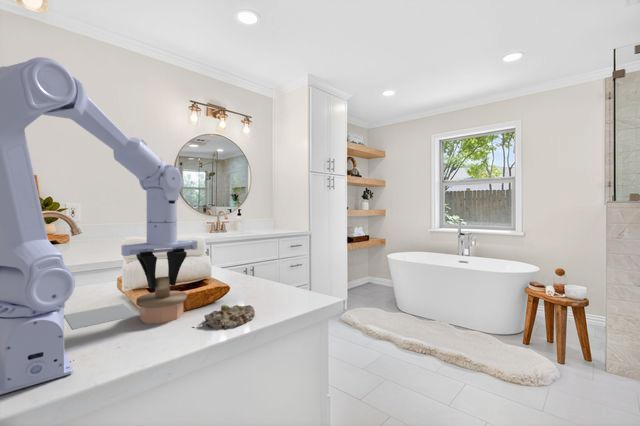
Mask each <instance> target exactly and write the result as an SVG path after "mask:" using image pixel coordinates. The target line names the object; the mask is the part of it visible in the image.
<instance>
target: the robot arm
mask: <svg viewBox="0 0 640 426" xmlns="http://www.w3.org/2000/svg"><path fill="white" fill-rule="evenodd" d="M42 115H43V116H48V117H55V118H63V119H68V120H69V119H70V120H72V121H73V122H75V123H76V124H77V125H78V126H80V127H82V128H83V130H85V131H86V132H88V133H89V134H91V135H92V136H94V137H95V138H96V139H98V140H99V141H100V142H101V143H103V144H104V145H106V146H107V147H109V148H110V149H111V150H112V152H113V158H114V160H115V161H116V162H117V163H119V164H120V165H121V166H122V167H124V168H125V169H126V170H128V172H130V173H131V174H133V175H134V176H135V177H136V179H137V180H138V182H139V185H140V188H141V189H142V190H145V192H146V193H145V194H146V242H143V243H133V244H125V245H124V244H123V245H121V246H120V247H121V256H123V257H130V256H135V257H136V258H137V261H138V262H139V264H140V266H141V268H142V270H143V272H144V274H145V277H146V281H147V287H148V288H149V289H150V290H155V287H156V278H157V277H156V267H157V261H158V257H157V256H156V255H155V254H156V253H165V252H166V256H167V265H168V266H167V268H168V273H167V274H168V276H167V277H170V286H173V287H174V286H176V284H177V280H178V279H177V278H178V275H179V272H180V269H181V267H182V266H183V263H184V261H185V259H186V258H187V255H188V254H187V251H188V250H193V251H194V250H198V240H195V239H194V240H193V239H191V240H178V228H177V227H178V208H177V207H178V200H179V198H180V191H181V189H182V187H183V186H184V179H183V176H182V174H181V171H179V169H178V168H177V167H176V166H174V165H171V164H166V163H165V161H164V159H163V158H161V157H160V156H158V155H157V153H155V152H154V151H153V150H152V149H151V148H149V147H148V143H147V142H146V141H145V140H144V139H140V138H139V137H129V136H127V134H126V133H125V132H123V130H121V128H120V127H118V125H117V124H115V123H114V121H113V120H111V118H110V117H109V116H108V115H107V114H106V113H105V112H104V111H103V110H102V109H101V108H100V106H98V105H97V104H96V103H95V102H94V101H93V100H92V99H91V98H90V97H89V95H88V94H87V92H86V89H85V87H84V85H83V83H82V82H81V81H80V80H79V79H77V77H75V76H72V74H71V73H70V72H69V70H68V69H67V68H66V67H65V66H64V65H62V63H60V62H58V61H56V60H54V59H52V58H49V57H44V56H42V57H41V56H40V57H39V56H38V57H37V56H36V57H33V58H30V59H29V60H26V61H23V62H19V63H15V64H11V65H7V66H3V65H2V66H0V395H1V396H2V395H3V394H8V393H10V392H15V391H17V390H20V389H23V388H28V387H31V386H34V385H38V384H42V383H45V382H48V381H52V380H54V379H57V378H61V377H64V376H69V375H71V374H73V372H74V368H73V366H72V364H71V362H70V360H69V358H68V356H67V353H66V351H65V317H64V315H65V308H66V302H67V301H68V300H69V299H70V298H71V296H72V295H73V293H74V290H75V286H76V280H75V276H74V274H73V272H72V271H71V270H70V269H69V268H68V267H67V265H66V264H65V262H64V258H63V254H62V253H61V252H60V251H59V250H58V248H56V247H55V245H53V244H52V243H51V241H50V240H49V238H48V237H49V236H48V233H47V228H46V224H45V219H44V214H43V211H42V210H43V209H42V205H41V201H40V196H39V191H38V188H37V187H38V186H37V183H36V178H35V174H34V168H33V163H32V158H31V156H30V155H31V154H30V151H29V145H28V140H27V136H26V132H25V131H26V130H25V129H26V128H27V127H28V126H30V125H31V124H32V123H34V121H36V120H37V119H38V118H40V117H41V116H42Z"/></svg>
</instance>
